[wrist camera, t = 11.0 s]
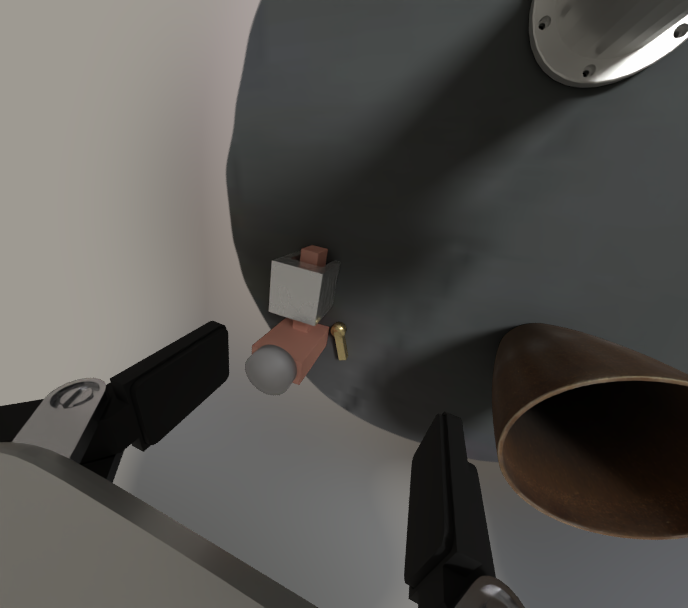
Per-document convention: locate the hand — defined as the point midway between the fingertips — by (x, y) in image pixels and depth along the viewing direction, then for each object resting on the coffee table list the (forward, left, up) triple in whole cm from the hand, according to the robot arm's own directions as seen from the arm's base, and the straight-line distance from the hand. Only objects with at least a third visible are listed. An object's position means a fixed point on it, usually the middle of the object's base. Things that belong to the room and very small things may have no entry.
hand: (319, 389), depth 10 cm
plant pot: (+6, +20, -25) cm, 33 cm away
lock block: (+5, -10, -25) cm, 27 cm away
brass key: (+14, -4, -25) cm, 29 cm away
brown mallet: (+8, -10, -25) cm, 28 cm away
